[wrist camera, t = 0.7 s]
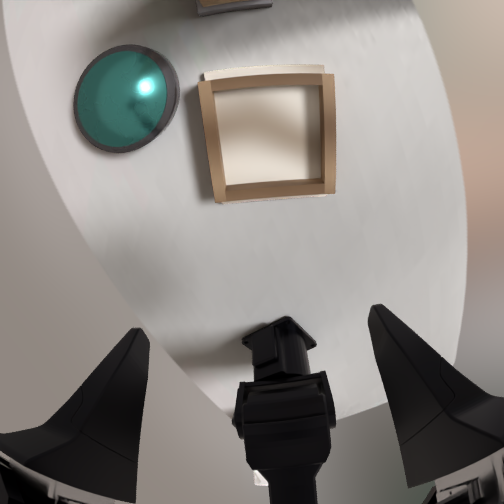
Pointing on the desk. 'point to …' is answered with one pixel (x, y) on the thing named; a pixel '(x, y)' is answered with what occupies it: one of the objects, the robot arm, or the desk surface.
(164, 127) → the pad
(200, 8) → the stamp
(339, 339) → the desk surface
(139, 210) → the desk surface
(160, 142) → the desk surface
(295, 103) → the frame
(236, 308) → the desk surface
